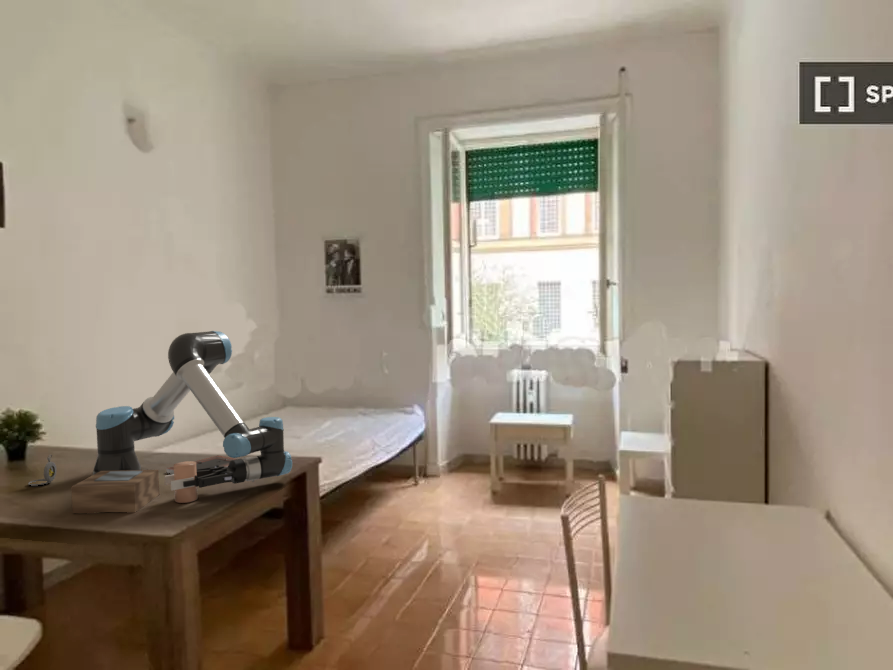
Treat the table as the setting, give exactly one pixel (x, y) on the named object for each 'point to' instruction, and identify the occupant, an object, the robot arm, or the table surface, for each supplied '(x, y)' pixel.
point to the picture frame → (208, 463)
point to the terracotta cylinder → (182, 472)
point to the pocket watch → (47, 473)
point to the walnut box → (115, 491)
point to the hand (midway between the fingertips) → (168, 483)
